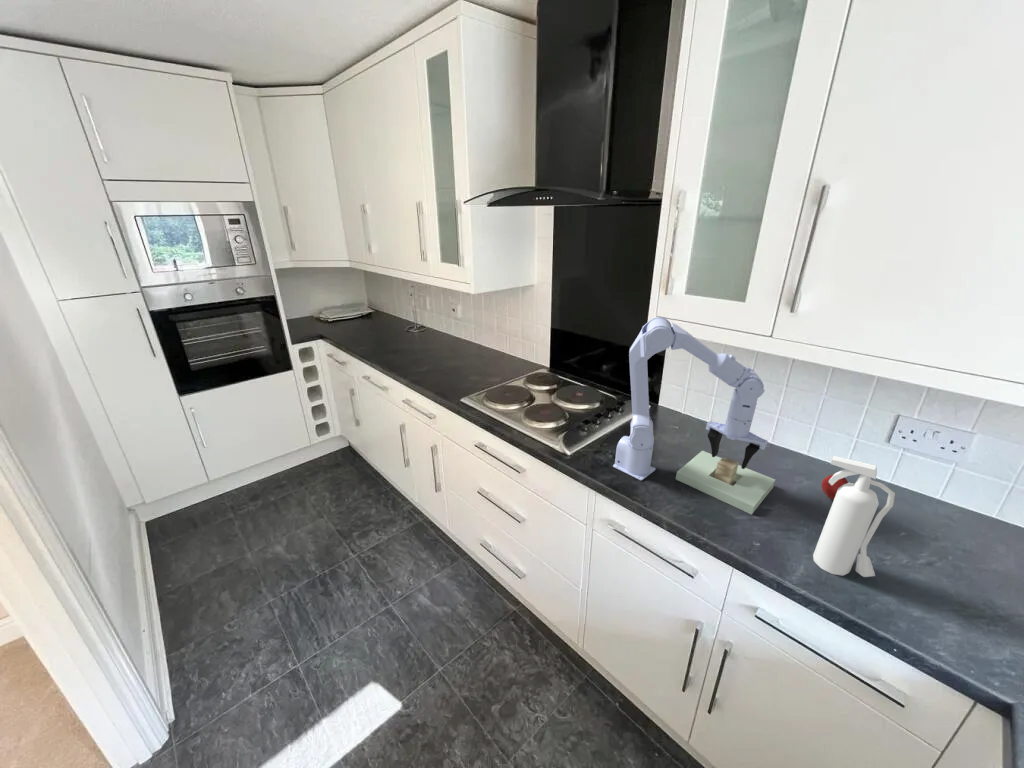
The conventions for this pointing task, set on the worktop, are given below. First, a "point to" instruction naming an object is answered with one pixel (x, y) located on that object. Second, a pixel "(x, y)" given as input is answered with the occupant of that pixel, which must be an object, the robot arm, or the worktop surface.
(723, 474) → the beech block
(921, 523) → the worktop surface
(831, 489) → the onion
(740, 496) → the well board
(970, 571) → the worktop surface
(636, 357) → the robot arm
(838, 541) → the fire extinguisher
